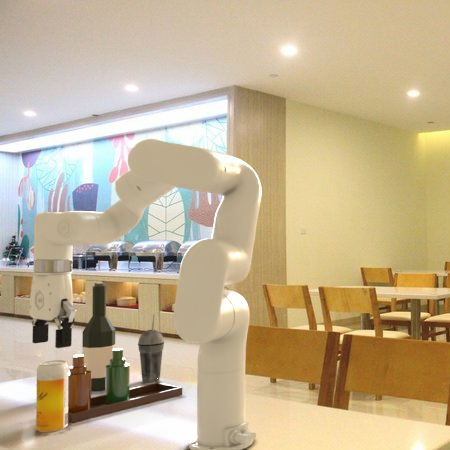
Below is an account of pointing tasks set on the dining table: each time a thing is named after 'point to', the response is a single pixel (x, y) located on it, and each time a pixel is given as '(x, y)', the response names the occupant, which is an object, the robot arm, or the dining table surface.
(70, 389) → the amber bottle
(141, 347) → the beverage cup
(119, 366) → the green bottle
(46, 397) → the beer can
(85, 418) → the tray
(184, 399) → the dining table surface
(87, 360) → the wine bottle
